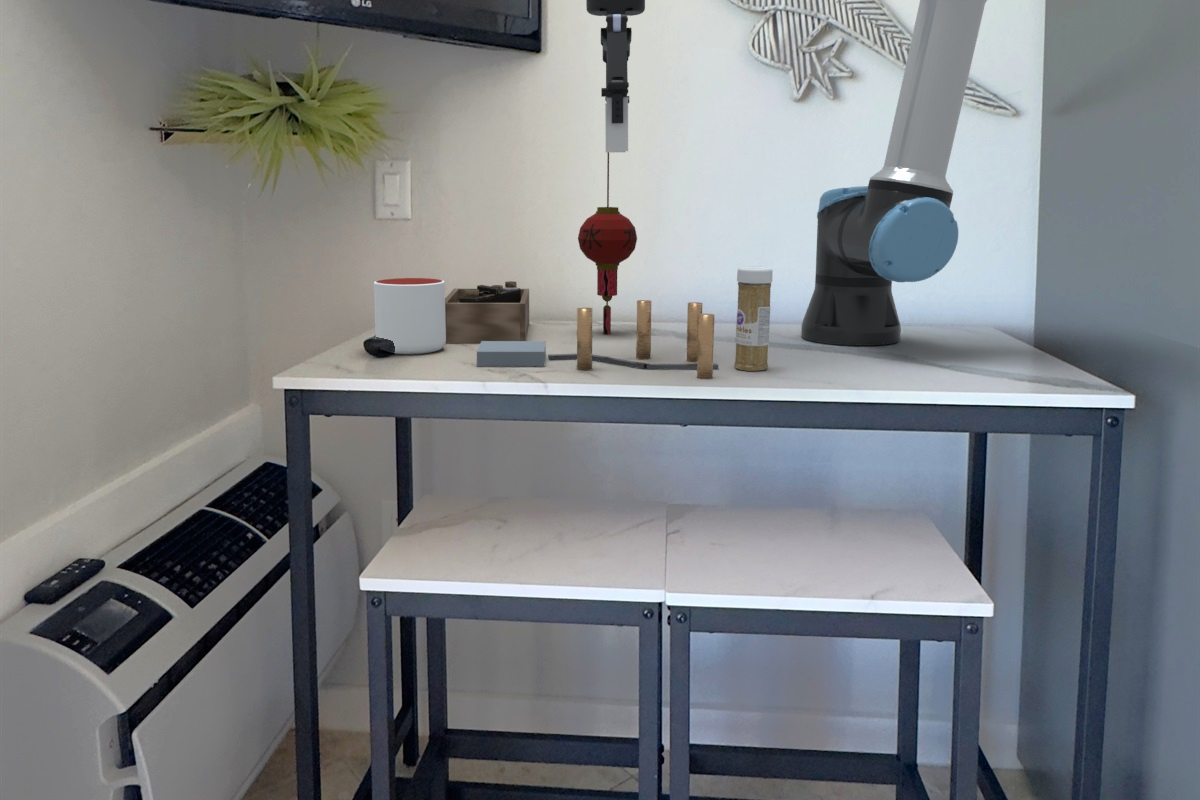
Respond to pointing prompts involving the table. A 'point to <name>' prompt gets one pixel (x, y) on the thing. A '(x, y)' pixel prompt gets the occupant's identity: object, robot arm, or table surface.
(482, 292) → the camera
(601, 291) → the lantern
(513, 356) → the pad
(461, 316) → the camera corral
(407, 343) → the cup
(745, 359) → the sprinkles bottle
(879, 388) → the table surface
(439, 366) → the table surface
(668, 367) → the wire course
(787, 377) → the table surface
